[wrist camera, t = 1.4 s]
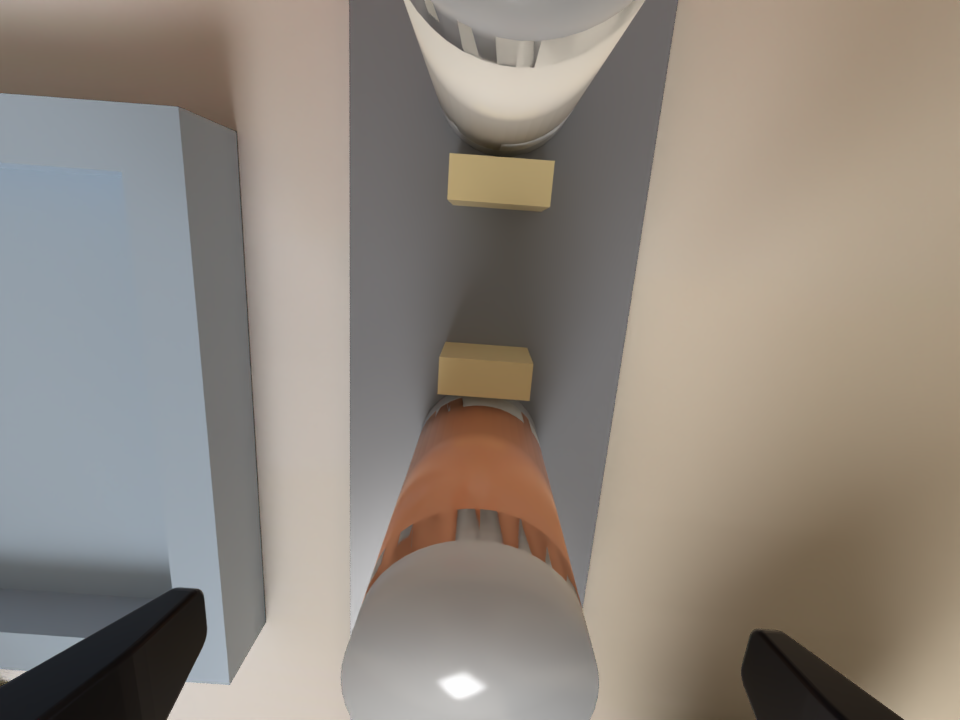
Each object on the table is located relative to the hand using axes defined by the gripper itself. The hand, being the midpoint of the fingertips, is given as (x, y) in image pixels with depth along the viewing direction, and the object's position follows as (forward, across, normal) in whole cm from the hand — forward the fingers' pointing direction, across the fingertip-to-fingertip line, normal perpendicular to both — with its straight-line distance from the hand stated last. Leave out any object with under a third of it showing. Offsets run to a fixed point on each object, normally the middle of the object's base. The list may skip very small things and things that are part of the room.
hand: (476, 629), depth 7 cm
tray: (+8, +14, 0) cm, 16 cm away
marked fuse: (+7, 0, 0) cm, 7 cm away
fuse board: (+8, 0, 0) cm, 8 cm away
